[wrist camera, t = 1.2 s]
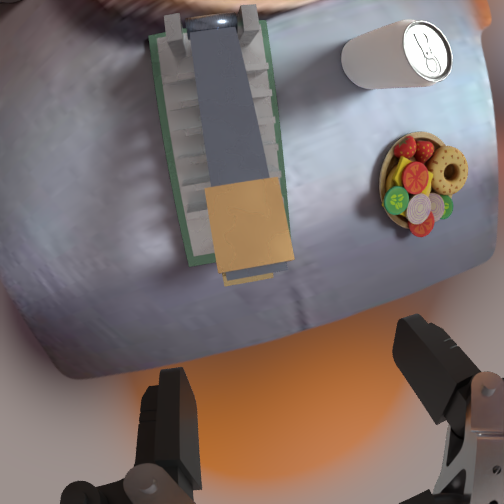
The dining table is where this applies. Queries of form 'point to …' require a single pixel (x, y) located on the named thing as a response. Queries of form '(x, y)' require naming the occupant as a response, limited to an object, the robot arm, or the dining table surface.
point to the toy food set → (421, 181)
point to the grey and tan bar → (236, 157)
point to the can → (398, 56)
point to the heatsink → (190, 127)
